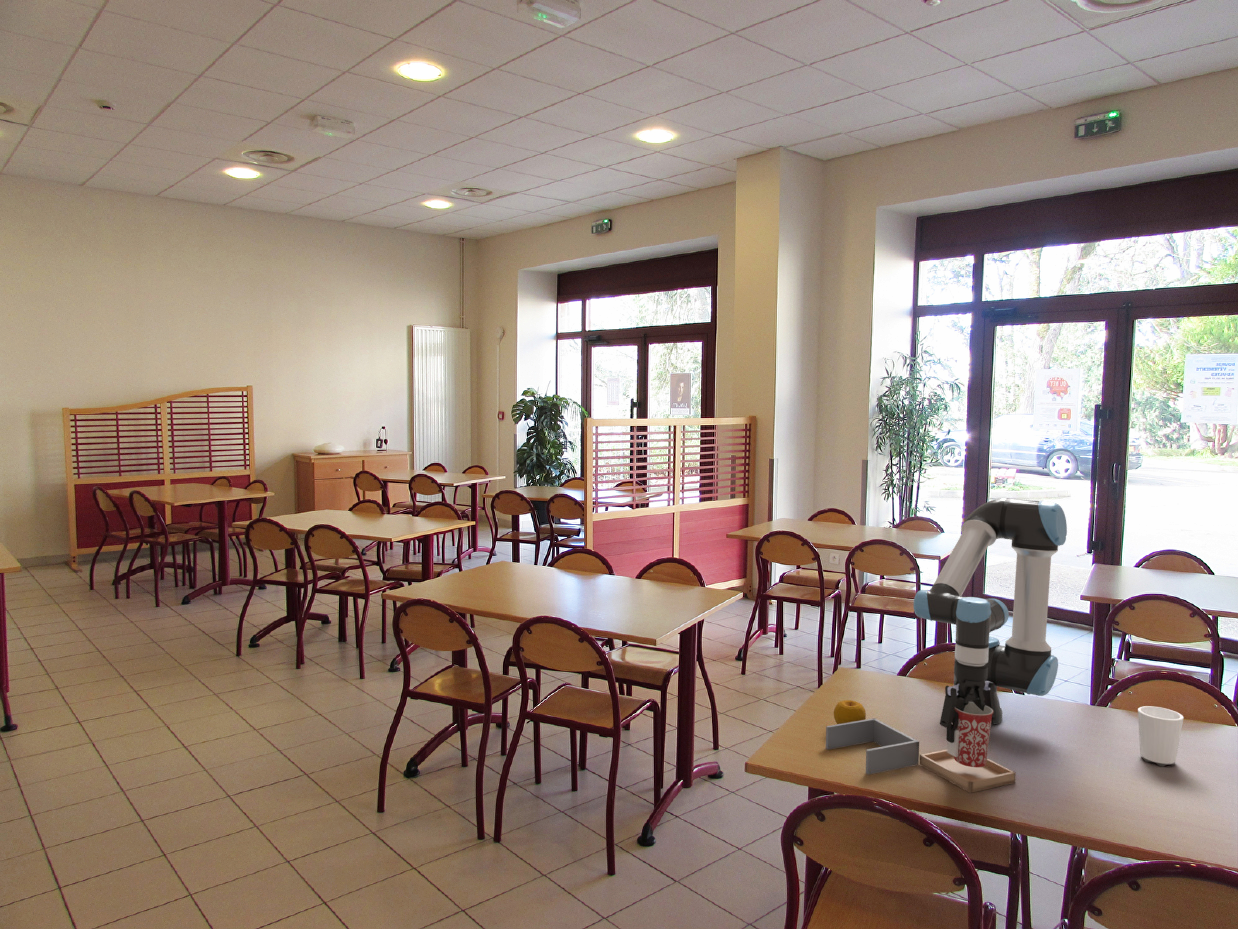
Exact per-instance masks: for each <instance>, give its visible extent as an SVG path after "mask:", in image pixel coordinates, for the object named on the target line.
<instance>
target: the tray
mask: <svg viewBox="0 0 1238 929" xmlns="http://www.w3.org/2000/svg"><path fill="white" fill-rule="evenodd" d="M918 765H919V766H921V767H923V768H925V769H927V770H929V771H930V772H932V773H934V774H936V775H938V776H939V777H941V778H943V779H944V780H947V781H948V782H950V783H951V784H953V785H956V786H957V787H959V788H961V789H963V790H965V791H966V792H968V793H969V794H970V793H975V792H979V791H984V790H988V789H989V790H990V789H993V788H998V787H1003V786H1006V785H1011V784H1016V778H1017V777H1016V772H1015V771H1013V770H1011V769H1009V768H1007V767H1005V766H1003V765H1002V764H999V763H997V762H995V761H993V760H992V759H989V758H987V762H986V765H985V766H983V767H969V766H965V765H962V764H960V763H958V762H957V761H955V759H954V756H953V755H951V754H949V753H947V749H943V750H942V749H941V750H938V751H937V750H936V751H932V752H928V753H922V754H919V763H918Z"/></svg>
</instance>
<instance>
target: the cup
mask: <svg viewBox="0 0 1238 929" xmlns="http://www.w3.org/2000/svg"><path fill="white" fill-rule="evenodd" d="M1137 718H1138V720H1137V721H1138V738H1139V755H1140V756H1141V757H1142V759H1143V760H1144V762H1146V763H1150V764H1151V763H1154V764H1156V765H1157V766H1159V767H1165V766H1167V765H1168V766H1173V767H1174V765H1175V764H1176V762H1177V756H1178V750H1179V746H1180V739H1181V733H1182V728H1183V722H1184V715H1183V714H1181V713H1179V712H1178V711H1175V710H1172V709H1169V708H1165V707H1161V706H1152V705H1151V706H1150V705H1145V706H1144V705H1143V706H1140V707H1138V708H1137Z"/></svg>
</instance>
